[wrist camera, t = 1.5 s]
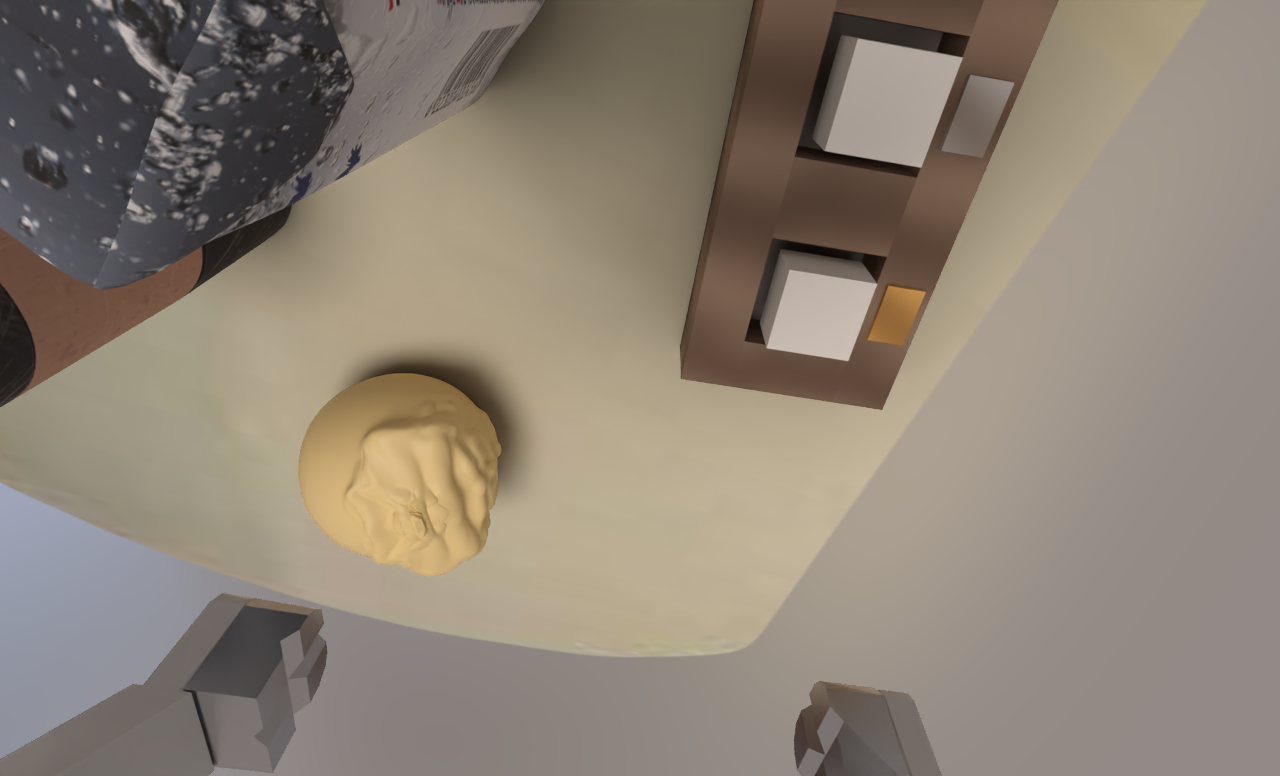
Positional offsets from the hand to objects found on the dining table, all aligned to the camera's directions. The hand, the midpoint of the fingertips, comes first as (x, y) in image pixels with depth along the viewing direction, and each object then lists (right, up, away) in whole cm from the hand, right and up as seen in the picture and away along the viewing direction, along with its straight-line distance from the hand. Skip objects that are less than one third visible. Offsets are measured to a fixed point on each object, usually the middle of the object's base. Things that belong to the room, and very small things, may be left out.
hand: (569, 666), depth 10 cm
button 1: (+10, +10, +24) cm, 28 cm away
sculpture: (-13, +2, +34) cm, 37 cm away
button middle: (+12, +18, +19) cm, 29 cm away
